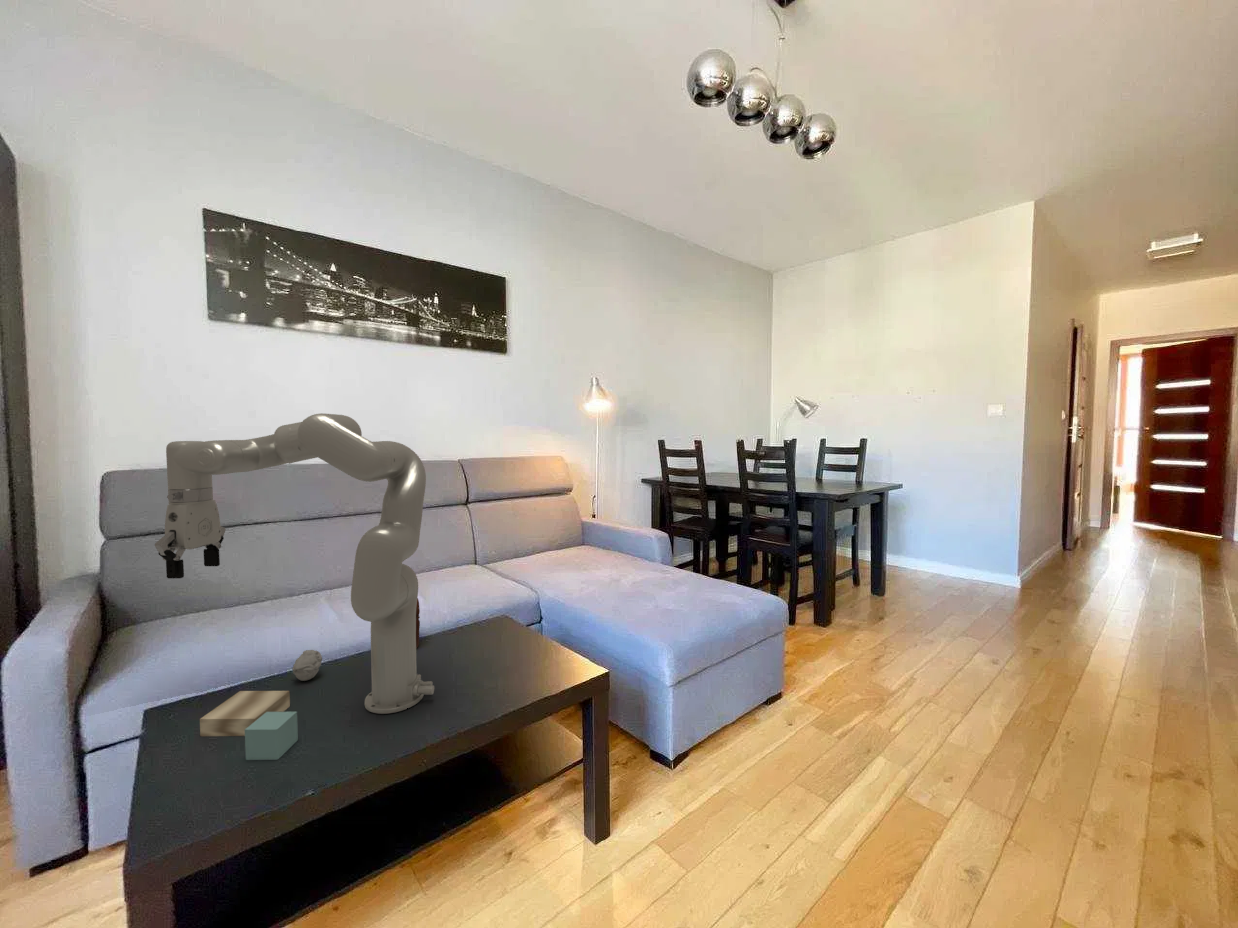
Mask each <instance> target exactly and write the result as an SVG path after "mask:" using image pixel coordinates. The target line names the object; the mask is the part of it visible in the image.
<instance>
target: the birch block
mask: <svg viewBox="0 0 1238 928" xmlns="http://www.w3.org/2000/svg"><path fill="white" fill-rule="evenodd" d="M290 697H291V695H290V690H239V691H238V692H236V693H235V694H234V695H232V696H231V697H229V698H227V699H226V700H225V701H223V702H222V703H221V704H219V705H217V706H216V707H214V708H213V709H212V710H211V711H208V713H206V714H205V715H204V716H202V717H200V718H199V730H200V732H199V735H200V737H245V729H246V728H247V727H249V726H250V725H251V724H252V723H254V722H255V721H256V720H257V719H258V718H260V717H261V716H262V715H263V714H265V713H266V712H286V711H287V709H289V708H290V706H291V698H290Z"/></svg>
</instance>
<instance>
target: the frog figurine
mask: <svg viewBox="0 0 1238 928" xmlns="http://www.w3.org/2000/svg"><path fill="white" fill-rule="evenodd" d="M322 661H323V656H322V654H321V652H320V651H319V650H315V649H306V650H304V651H302V653H301V655H300V654H299V656H298V657H297V659H296V660H295V662H294V664H293V667H292V669H291V670H292V674H294V675H295V677H296V679H298V680H300V681H302V682H303V681H304V682H305V681H306V682H307V681H309V680H312V679H314V677H315V676H316V675H317V674H318V673H319V671H320V667H321V666H322Z"/></svg>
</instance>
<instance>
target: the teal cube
mask: <svg viewBox="0 0 1238 928" xmlns="http://www.w3.org/2000/svg"><path fill="white" fill-rule="evenodd" d="M298 733H299V731H298V711H284V712H266V713H265V714H263V715H262V716H261V717H260V718H258V719H257V720H256V721H255V722H254V723H252V724H251V725H250V726H249V727H247V728H246V729H245V736H244V746H245V749H244V750H245V760H246V761H256V760H257V761H262V760H264V761H267V760H270V761H271V760H276V761H278V760H279V759H281V757H282V756H283V755H284V754H285V753H286V752H288V751H289V749H290V748H292V747H293V746H294V744H296V743H297V741H299V738H298V737H299V735H298Z"/></svg>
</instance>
